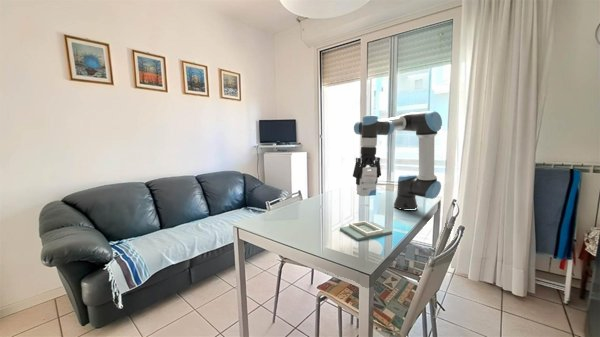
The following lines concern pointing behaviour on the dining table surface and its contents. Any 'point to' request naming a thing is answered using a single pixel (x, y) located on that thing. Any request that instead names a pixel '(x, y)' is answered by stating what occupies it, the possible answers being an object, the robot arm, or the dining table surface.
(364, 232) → the board
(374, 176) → the ink box
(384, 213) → the dining table surface
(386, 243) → the dining table surface
